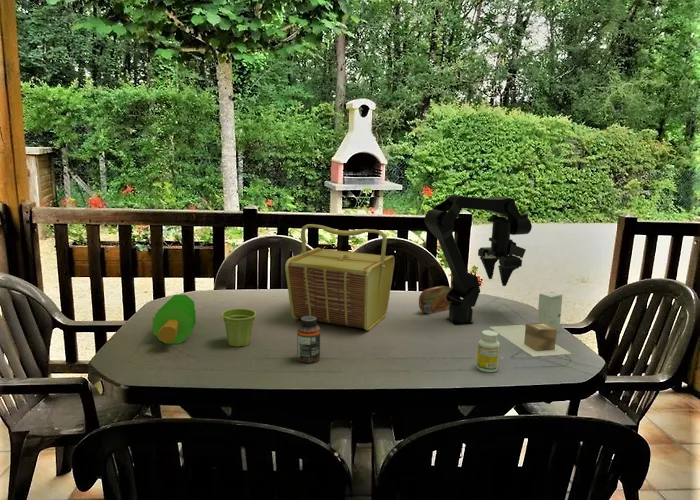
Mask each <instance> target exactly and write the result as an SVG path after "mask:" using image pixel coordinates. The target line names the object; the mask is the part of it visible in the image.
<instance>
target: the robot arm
mask: <svg viewBox="0 0 700 500" xmlns="http://www.w3.org/2000/svg"><path fill="white" fill-rule="evenodd" d="M463 209H468V210H477V211H478V210H479V211H486V212H489V213H492V215H491V216H490V217H489V218H488V219H487V220H486V221H487V222H490V223H492V228H491V230H492V231H491V237H488V241H489V242H490V246H488V247H487V246H486V247H485V246H484V247H480V248H478V250H477V251H478V252H477V256H478V257H479V259H480V260H481V264H482V266H483V268H484V270H485V272H486V275H487V278H488V279H489V280H492V279H493V276H494V271H495V266H496V263H497V262H498V264H499V265H498V266H497V267H498V271H499V276H500V282H501V285H502V287H506V286H507V284H508V282H509V279H510V277H511V275H512V273H513V272H514V271H515V270H517V269H518V270H519V268H521V267H522V265H523V258H524V256H525V253H526V249H525V248H523V247H521V246H517V243H516V242H514V241H513V239H511V236H516V235H528V234H529V233H530V232H531V231H532V228H533V225H532V221H531V219H530V218H529V214H527V213H520V211H519V209H518V207H517V205H516V201H515V199H514V198H512V197H506V196H500V195H499V196H497V195H495V196H489V197H486V198H485V197H475V196H465V195H460V194H456V193H455V194H451V195H449V196H448V197H446V199H445V200H443V201H442V202H441V201H440V203H438V204H436V205H435V206H434V207H432V209H429V210H428V211H427V212H426V214H425V215H424V218H423V222H424V224H425V226H426V227H427V229H428V230H429V232H430V233H431V234H432V235H433V236H434V237H435V238H436V239H437V241H438V243H439V246H440V249H441V250H442V254H443V255H444V258H445V260H446V263H447V265H448V268H449V270H450V272H451V275H452V280H451V287H452V288H451V290H450V291H449V292H448V294H447V295H446V298H447V301H449V302H452V303H450V307H449V308H448V317H446V320H447V321H448V322H450V323H451V324H452V325H454V326H464V325H467V326H468V325H473V324H474V322H472V321H473V310H474V307H475V306H476V305H477V302H478V301H477V300H478V298H479V296H480V293H481V287H482V285H481V283H480V282H479V279H478V276H477V275H476V274H473V273H469V272H468V270H467V267H466V265H465V262H464V260H463V257H462V255H461V252H460V250H459V247H458V245H457V242H456V239H455V237H454V230H455V229H454V226H455V225H454V222H455V220H457V219H458V217H459V216H460V213H461V212H462V210H463Z"/></svg>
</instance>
